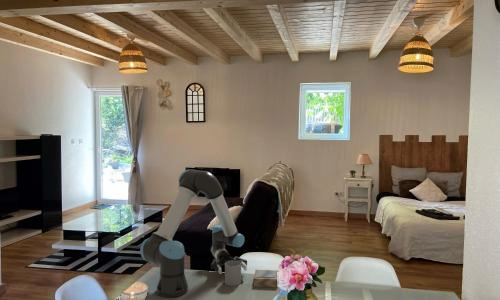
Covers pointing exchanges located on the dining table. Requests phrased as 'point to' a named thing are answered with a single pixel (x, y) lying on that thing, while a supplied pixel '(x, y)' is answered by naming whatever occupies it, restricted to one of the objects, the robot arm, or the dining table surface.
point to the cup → (233, 273)
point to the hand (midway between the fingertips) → (233, 269)
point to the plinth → (265, 278)
